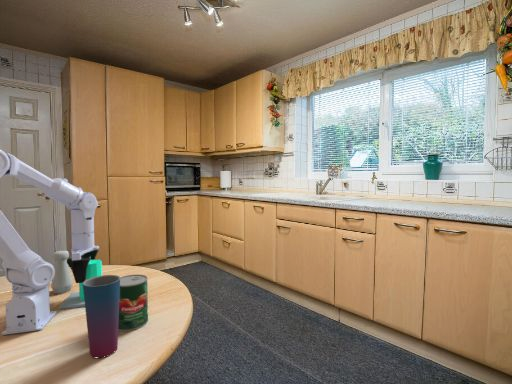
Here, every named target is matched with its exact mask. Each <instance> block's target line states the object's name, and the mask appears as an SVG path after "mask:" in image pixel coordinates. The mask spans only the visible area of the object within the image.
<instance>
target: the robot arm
mask: <svg viewBox="0 0 512 384" xmlns="http://www.w3.org/2000/svg"><path fill="white" fill-rule="evenodd" d="M3 176H8V177H9V176H10V177H13V178H15V179H18V180H20V181H23V182H24V183H26V184H29V185H31V186H34V187H35V188H39V189H40V190H43V193H44V196H45V197H46V198H49V199H52V200H53V201H55V202H57V203H59V204H61V205H64V206H65V207H66V209H67V210H68V211H70V223H71V224H70V226H71V229H70V230H71V249H70V251H71V258H70V257H68V258H67V264H68V266H69V269H71V272H72V275H73V278H74V281H75V284H79V283H83V282H84V281H85V279H86V272H87V267H88V264H89V261H90V260H96V257H97V255H98V253H99V249H100V246H99V245H95V220H94V219H95V218H94V217H95V215H96V209H97V208H98V206H99V201H98V200H97V197H96V195H95V194H94V193H93V192H89V191H88V192H87V191H86V192H85V191H84V190H83V188H81V187H80V186H75V185H73V184H71V183H69V180H68V179H67V178H64V177H63V178H60V177H56V178H50V177H49V176H47V175H45V174H44V173H42V172H41V171H39V170H38V169H35V168H33V167H32V166H30V165H28V164H27V163H25V162H23V161H22V160H20V159H18V157H16V156H15V155H13V154H11V153H8V152H5V151H4V150H2V149H0V179H1V178H2V177H3ZM0 258H1V260H2V263H1V267H2V268H3V270H4V272H5V279H6V280H7V281H8V282H9V283H10V284H11V293H12V294H11V295H12V296H11V298H10V300H9V301H8V302H7V304H6V307H5V325H6V327H5V329H4V330H3V331H2V332H1V335H2V336H5V335H14V334H21V333H27V332H36V331H41V330H43V328H45V327H46V326H47V324H48V323H49V322H50V321H51V319H52V318H53V317H54V316H55V315H56V314H57V310H52V311H51V310H50V309H51V308H50V305H51V304H50V303H51V302H50V287H51V286H50V285H51V283H52V280H53V278H54V275H55V269H54V265H53V264H52V263H50V262H48V261H45V260H44V259H43V258H42V256H40V255H39V254H37V253H36V252H34V251H33V250H32V249H30V248H29V246H28V245H27V244H26V242H25V240H23V238H22V237H21V235H20V234H19V233H18V232H17V230H16V229H15V228H14V227H13V225H12V224H11V222H10V221H9V220H8V218H7V217H6V216H5V214H4V213H3V211H2V210H1V209H0Z"/></svg>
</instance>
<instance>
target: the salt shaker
mask: <svg viewBox="0 0 512 384" xmlns="http://www.w3.org/2000/svg"><path fill="white" fill-rule="evenodd" d="M69 258H70V253H69V251H68V250H57V251H54V252H53V253H52V259H53V260H54V265H53V267H54V269H55V275H54V278H53V280H52V281H51V283H50V285H51V286H50V287H51V289H52V291H53V293H54V294H58V295H59V294H64V293H68V292H70V291H71V288H72V286H73V283H74V281H73V277H72V274H71V271H70V267H69V265H68V264H67V259H69Z"/></svg>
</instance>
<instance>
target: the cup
mask: <svg viewBox="0 0 512 384" xmlns="http://www.w3.org/2000/svg"><path fill="white" fill-rule="evenodd" d="M120 277H121V276H120V275H116V274H104V275H103V274H102V276H97V277H93V278H90V279H87V280H85V281H84V282H83V291H84V301H85V307H84V308H85V309H84V311H85V317H86V319H85V320H86V329H87V337H88V346H89V347H88V348H89V354H90V355H91V356H92V357H104V356H107V355H110V354H112V353H113V352H114V351H115V352H116V351H117V350H118V343H119V331H118V321H119V296H120ZM115 352H114V353H115ZM114 353H113V354H114ZM113 354H112V355H113ZM90 355H89V356H90ZM91 356H90V357H91ZM110 356H111V355H110ZM92 357H91V358H92ZM107 357H108V356H107ZM104 358H105V357H104Z"/></svg>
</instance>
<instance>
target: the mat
mask: <svg viewBox="0 0 512 384" xmlns="http://www.w3.org/2000/svg"><path fill="white" fill-rule="evenodd" d="M76 308H85V301H84V300H81V299H80V296H79V292H71V293H70V294H69V295H68V296H67V298H65V300H64V301H63V302H62V303H61V304H60V305H59V310H61V311H62V310H67V309H68V310H69V309H76Z"/></svg>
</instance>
